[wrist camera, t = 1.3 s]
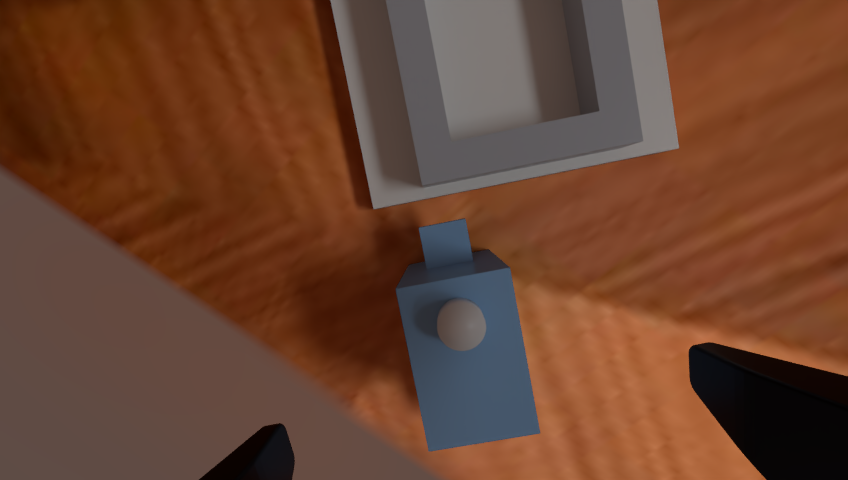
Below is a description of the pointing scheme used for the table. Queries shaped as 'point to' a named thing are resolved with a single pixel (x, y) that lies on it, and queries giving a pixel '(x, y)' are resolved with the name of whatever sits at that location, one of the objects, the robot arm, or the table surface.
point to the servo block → (465, 342)
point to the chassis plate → (500, 90)
